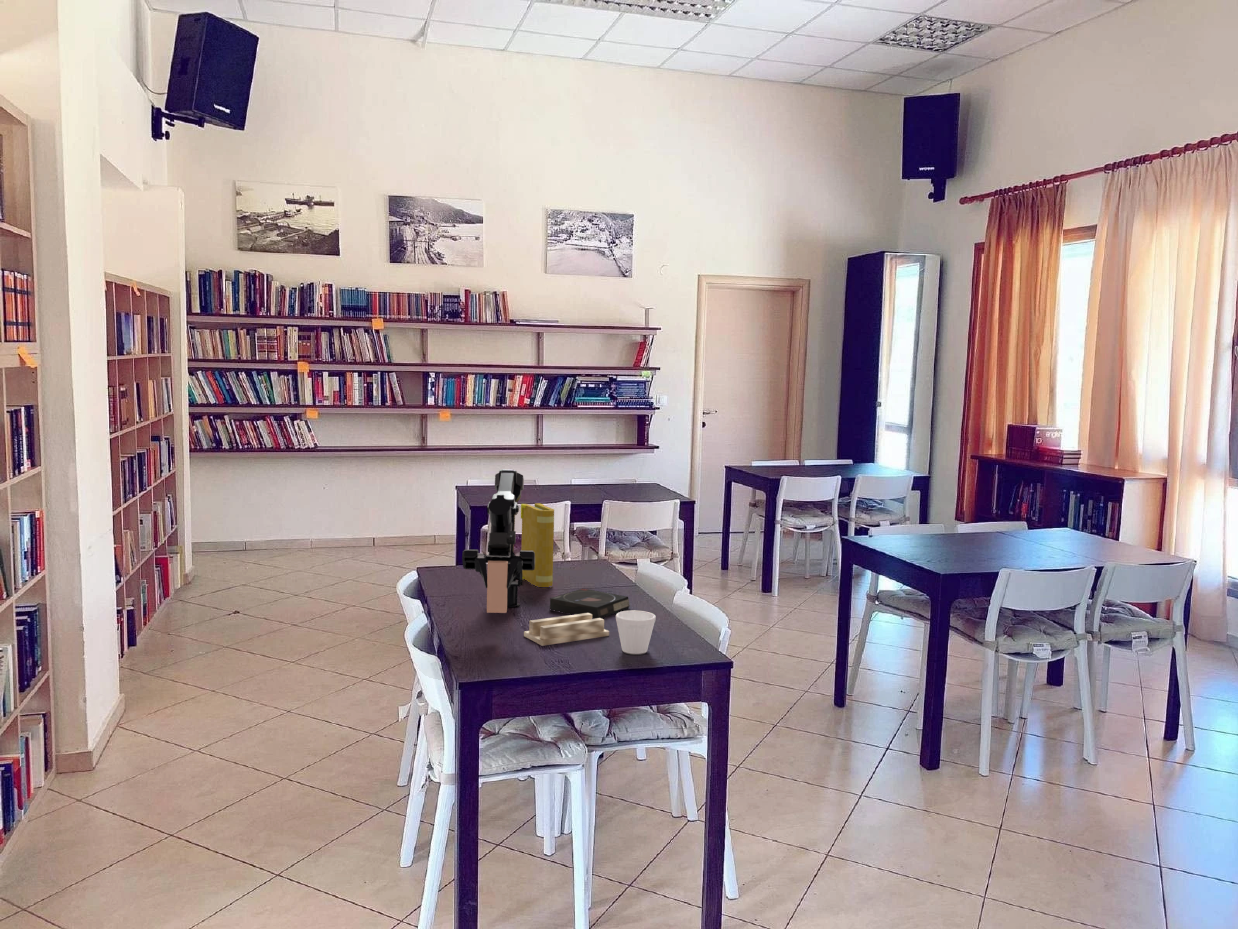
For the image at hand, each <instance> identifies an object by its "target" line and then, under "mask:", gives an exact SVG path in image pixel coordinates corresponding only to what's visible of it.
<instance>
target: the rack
mask: <svg viewBox="0 0 1238 929" xmlns="http://www.w3.org/2000/svg"><path fill="white" fill-rule="evenodd" d="M528 622H529V625H528V628H529V629H528V630H526V631H523V637H525V638H527V639H529V640H531V641H533V643H534V642H535V643H536V644H538V645H540V646H542V647H543V646H549V645H550V646H551V645H556V644H564V643H570V642H575V641H577V642H578V641H583V640H584V641H585V640H589V639H596V638H603V637H608V636H609V637H610V630H608V629H605V619H603V618H596V619H592V614H590V613H583V614H576V615H571V614H567V615H562V616H554V617H547V618H540V619H533V620H532V619H531V620H529V621H528Z"/></svg>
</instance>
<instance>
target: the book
mask: <svg viewBox="0 0 1238 929" xmlns="http://www.w3.org/2000/svg"><path fill="white" fill-rule="evenodd" d="M520 519H521V548H520V549H521V550H523V551H534V553H535V569H534V570H522V573H523V579H525V580H527V581H528V582H530V583H531V584H530V583H529V584H530V585H532V584H533V585H535V586H538V587H549V586H552V585H553V581H554V579H553V577H554V575H553V574H554V543H555V542H554V541H555V540H554V539H555V535H554V534H555V508H552V507H548V506H546V505H544V504H543V503H534V506H533V505H531V504H528V503H521V504H520ZM525 580H524V581H525ZM527 581H526V582H527ZM528 582H527V583H528ZM533 585H532V586H533ZM535 586H534V587H535ZM552 587H553V586H552Z"/></svg>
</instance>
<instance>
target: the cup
mask: <svg viewBox="0 0 1238 929" xmlns="http://www.w3.org/2000/svg"><path fill="white" fill-rule="evenodd" d="M615 614H616V615H615V622H616V628H617V631H618V636H619V641H620V645H621V646H620V647H621V651H622V652H623V653H624V654H626V655H630V656H641V655H645V654H646V653H647V652H648V648H649V646H650V645H649V644H650V641H651V637H652V633H653V629H654V625H655V623H656V620H657V619H656V618H657V617H656V615H655V614H654V613H652V612H648V611H645V610H634V609H633V610H623V611H620V612H617V613H615Z"/></svg>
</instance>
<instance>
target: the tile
mask: <svg viewBox="0 0 1238 929" xmlns="http://www.w3.org/2000/svg"><path fill="white" fill-rule="evenodd" d="M507 578H508V561H488V563H487V588H486V613H487V614H489V613H490V614H491V613H492V614H494V613H495V614H497V613H499V614H507V611H508V608H507Z"/></svg>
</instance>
